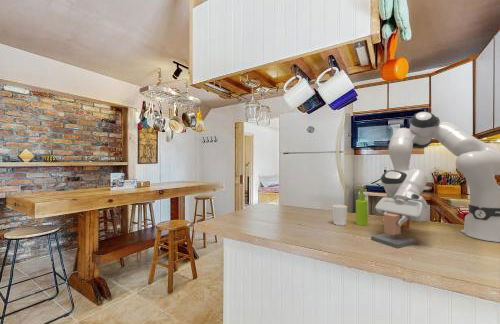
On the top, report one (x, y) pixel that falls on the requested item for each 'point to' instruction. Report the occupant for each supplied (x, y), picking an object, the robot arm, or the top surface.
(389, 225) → the terracotta block
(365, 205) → the soap dispenser
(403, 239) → the slate coaster
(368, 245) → the top surface
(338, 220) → the white cup
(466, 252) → the top surface
